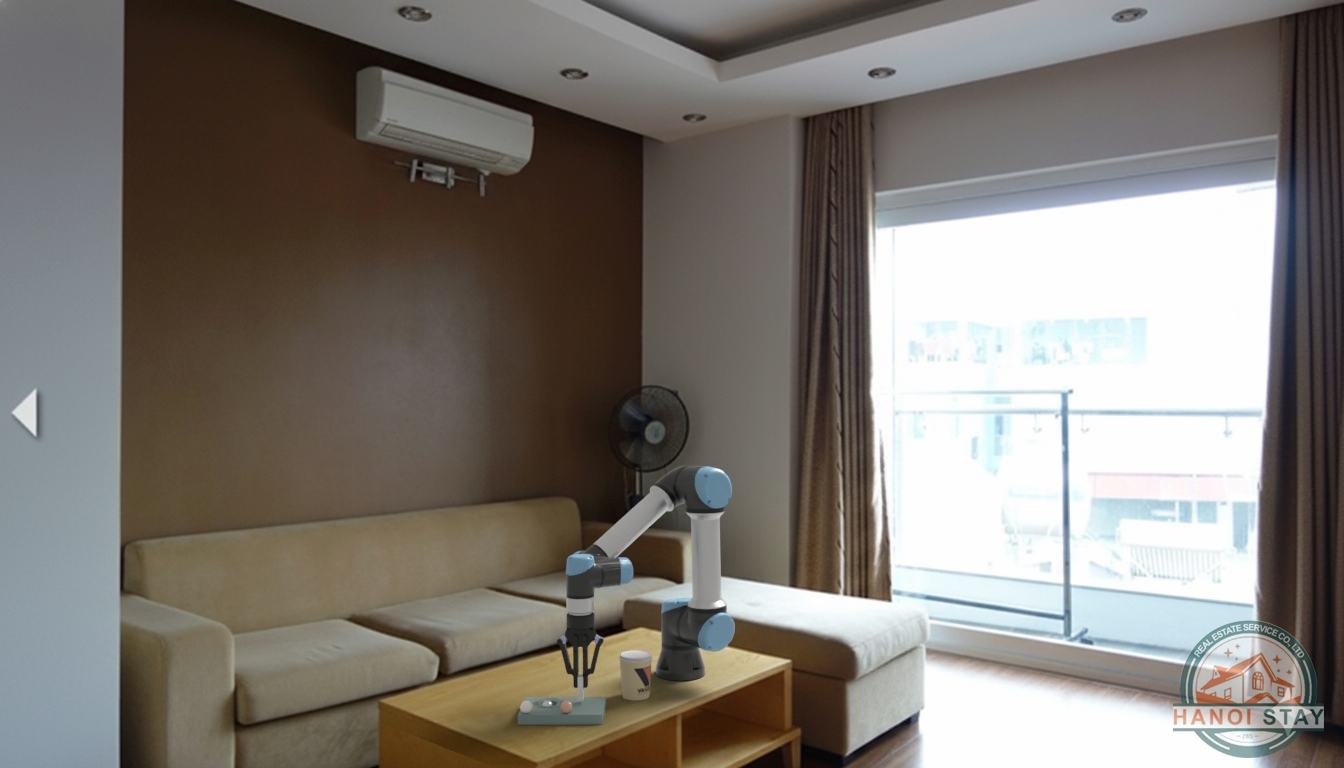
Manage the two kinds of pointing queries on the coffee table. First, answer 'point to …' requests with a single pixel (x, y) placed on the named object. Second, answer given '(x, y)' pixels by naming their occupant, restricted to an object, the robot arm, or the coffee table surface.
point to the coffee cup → (635, 674)
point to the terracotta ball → (566, 706)
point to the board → (581, 712)
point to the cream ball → (526, 706)
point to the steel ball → (547, 703)
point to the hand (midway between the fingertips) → (580, 699)
